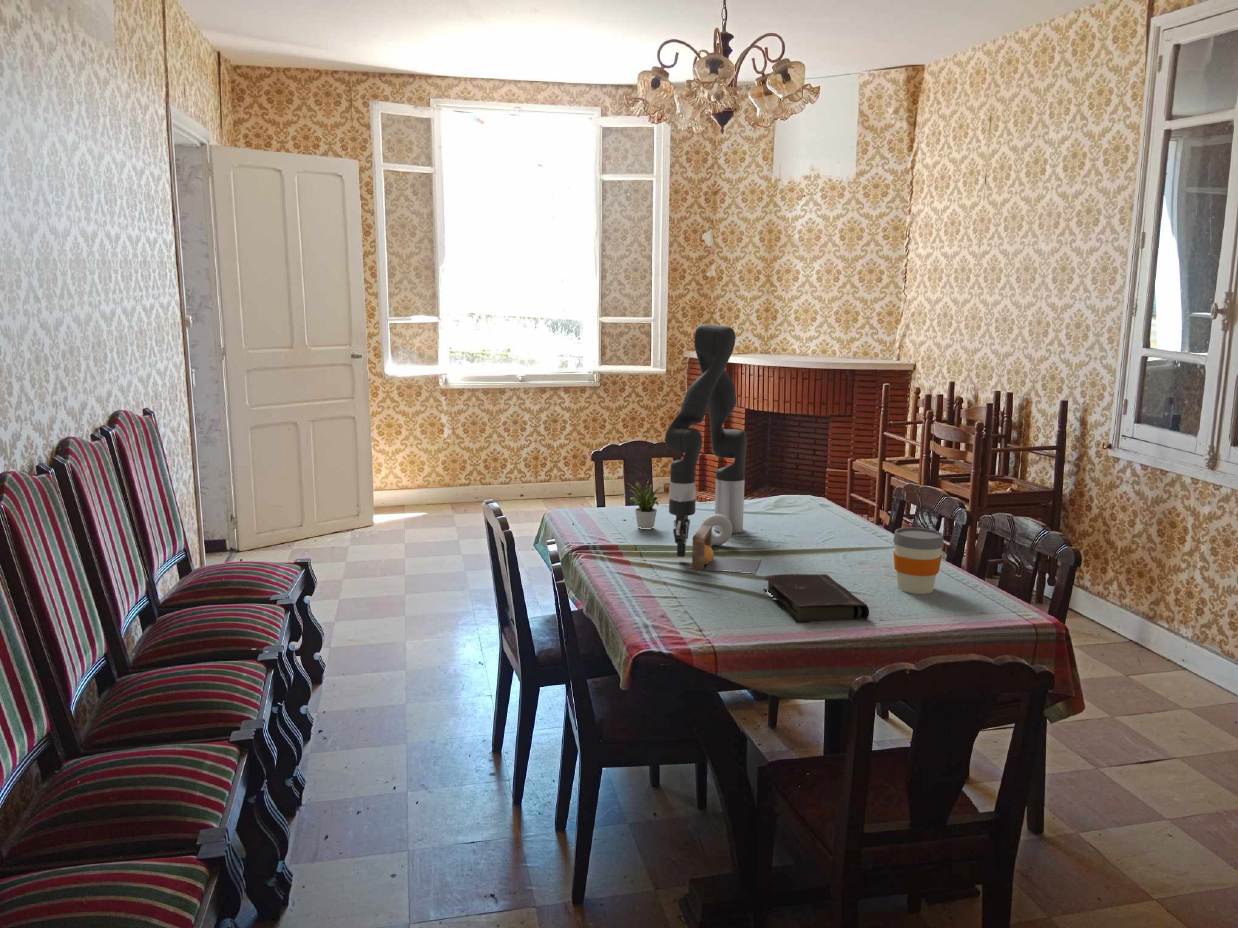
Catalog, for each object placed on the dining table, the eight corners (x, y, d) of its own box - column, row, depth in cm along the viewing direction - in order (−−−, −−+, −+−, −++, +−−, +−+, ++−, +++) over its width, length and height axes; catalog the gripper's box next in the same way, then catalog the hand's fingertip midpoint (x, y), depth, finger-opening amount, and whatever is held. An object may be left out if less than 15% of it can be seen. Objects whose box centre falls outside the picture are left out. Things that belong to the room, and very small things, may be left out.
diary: (828, 591, 245) (829, 572, 244) (868, 623, 220) (870, 603, 220) (759, 593, 242) (760, 574, 241) (793, 626, 217) (794, 605, 216)
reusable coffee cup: (907, 597, 237) (911, 540, 234) (881, 583, 249) (884, 528, 246) (950, 593, 240) (954, 537, 238) (922, 579, 252) (926, 525, 250)
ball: (716, 544, 267) (715, 563, 267) (698, 541, 269) (697, 560, 269) (710, 547, 262) (709, 567, 262) (692, 545, 264) (690, 564, 264)
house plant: (614, 531, 302) (615, 481, 299) (626, 521, 315) (627, 474, 312) (657, 534, 298) (658, 484, 295) (667, 525, 311) (668, 477, 308)
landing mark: (712, 557, 273) (712, 556, 273) (760, 560, 269) (760, 560, 269) (704, 570, 260) (704, 569, 260) (755, 574, 256) (755, 573, 256)
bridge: (691, 569, 260) (692, 537, 259) (700, 555, 274) (701, 525, 272) (702, 570, 259) (703, 538, 258) (710, 556, 273) (711, 526, 272)
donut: (701, 547, 283) (702, 515, 281) (698, 544, 286) (699, 513, 285) (733, 546, 285) (734, 514, 283) (730, 543, 288) (731, 512, 286)
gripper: (674, 491, 272) (672, 549, 275) (664, 501, 260) (663, 561, 263) (699, 493, 270) (698, 551, 273) (691, 502, 258) (689, 563, 261)
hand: (681, 555), depth 268 cm, fingers closed
